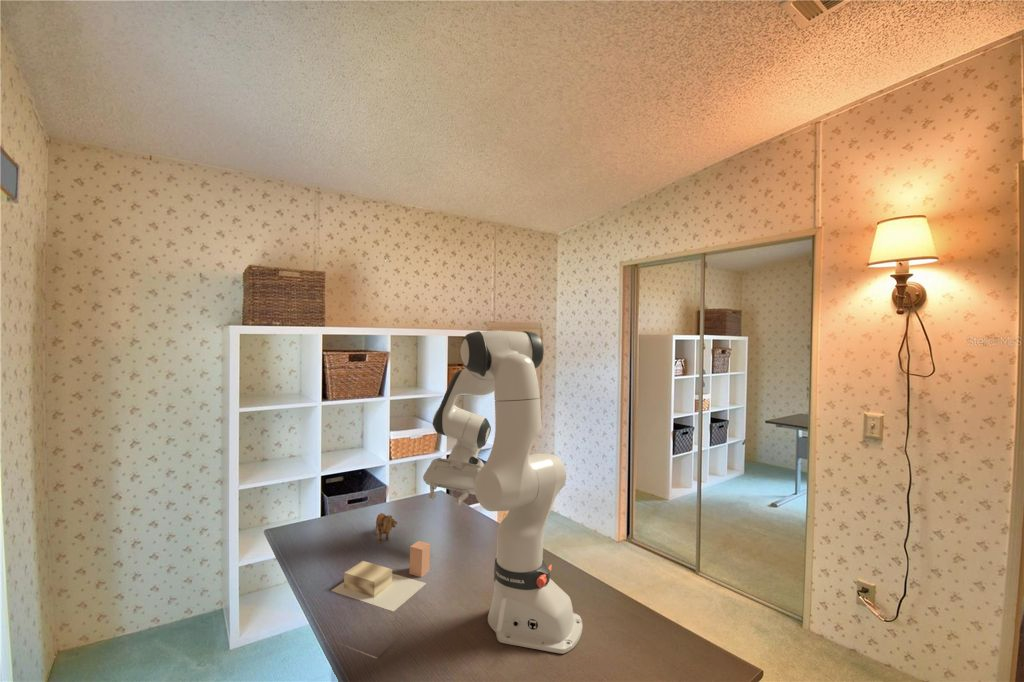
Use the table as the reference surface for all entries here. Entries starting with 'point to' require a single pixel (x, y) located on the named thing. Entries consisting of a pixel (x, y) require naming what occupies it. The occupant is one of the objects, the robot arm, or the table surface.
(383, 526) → the lion figurine
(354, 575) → the plinth
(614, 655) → the table surface
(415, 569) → the pillar
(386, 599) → the mat
